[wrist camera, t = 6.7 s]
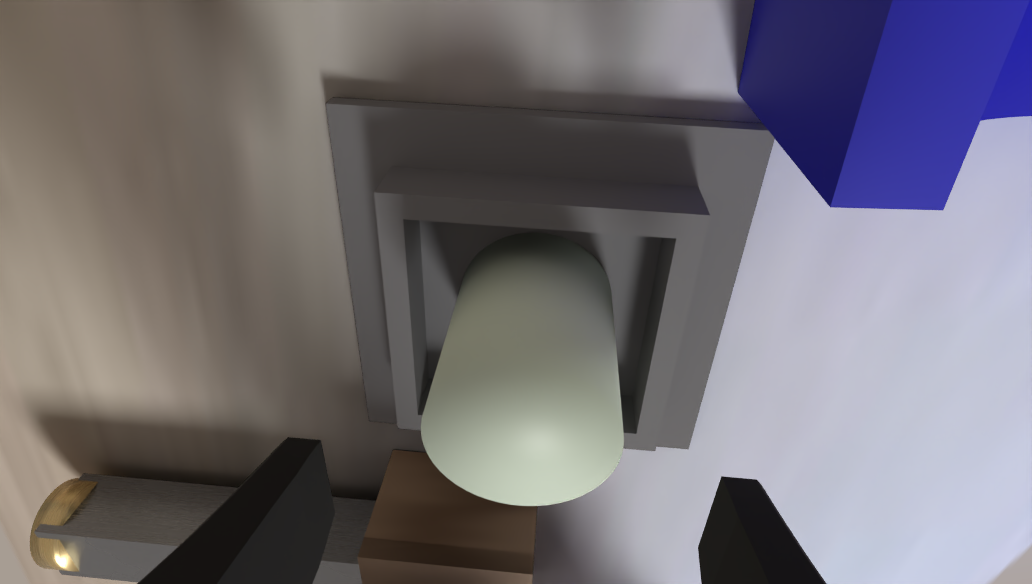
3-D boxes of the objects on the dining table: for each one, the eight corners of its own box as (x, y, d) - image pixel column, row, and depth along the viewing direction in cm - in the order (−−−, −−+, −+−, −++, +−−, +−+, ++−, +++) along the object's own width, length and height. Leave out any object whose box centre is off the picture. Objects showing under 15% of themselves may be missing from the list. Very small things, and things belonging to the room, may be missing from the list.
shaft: (458, 495, 21) (442, 576, 19) (459, 547, 23) (444, 628, 20) (79, 460, 22) (15, 533, 19) (108, 513, 24) (51, 586, 21)
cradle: (770, 123, 14) (797, 155, 12) (685, 437, 19) (696, 488, 17) (333, 97, 14) (300, 124, 12) (373, 409, 20) (354, 457, 18)
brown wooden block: (539, 462, 20) (532, 574, 17) (530, 573, 24) (523, 683, 21) (393, 449, 21) (357, 557, 17) (405, 561, 24) (377, 667, 21)
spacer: (616, 232, 15) (631, 365, 11) (607, 359, 17) (617, 510, 13) (454, 231, 15) (408, 358, 11) (467, 356, 17) (432, 501, 13)
